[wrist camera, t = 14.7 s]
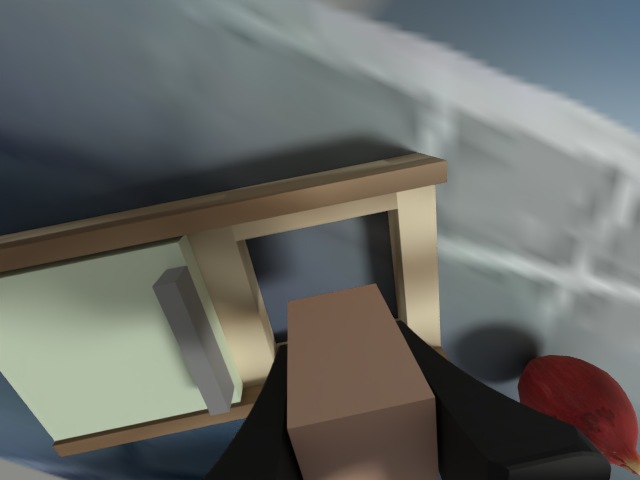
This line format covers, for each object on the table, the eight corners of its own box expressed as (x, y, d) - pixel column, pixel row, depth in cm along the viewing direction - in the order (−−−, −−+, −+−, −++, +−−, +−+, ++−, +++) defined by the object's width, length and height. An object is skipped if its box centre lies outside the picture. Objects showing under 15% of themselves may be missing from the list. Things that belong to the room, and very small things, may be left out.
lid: (243, 385, 19) (236, 427, 17) (68, 422, 19) (33, 470, 16) (186, 233, 15) (164, 257, 13) (-36, 277, 15) (-104, 311, 12)
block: (384, 351, 15) (439, 486, 10) (305, 368, 15) (315, 514, 10) (375, 283, 14) (434, 397, 8) (287, 301, 14) (287, 429, 8)
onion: (485, 390, 24) (571, 509, 17) (507, 331, 22) (615, 438, 15) (551, 389, 25) (662, 502, 18) (578, 331, 23) (716, 433, 16)
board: (428, 337, 22) (450, 373, 19) (93, 408, 21) (61, 457, 18) (417, 152, 17) (446, 160, 14) (-19, 239, 16) (-89, 267, 13)
